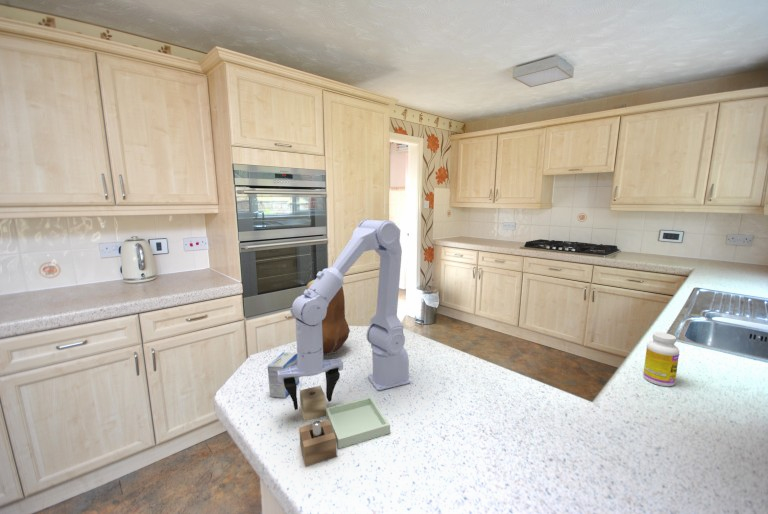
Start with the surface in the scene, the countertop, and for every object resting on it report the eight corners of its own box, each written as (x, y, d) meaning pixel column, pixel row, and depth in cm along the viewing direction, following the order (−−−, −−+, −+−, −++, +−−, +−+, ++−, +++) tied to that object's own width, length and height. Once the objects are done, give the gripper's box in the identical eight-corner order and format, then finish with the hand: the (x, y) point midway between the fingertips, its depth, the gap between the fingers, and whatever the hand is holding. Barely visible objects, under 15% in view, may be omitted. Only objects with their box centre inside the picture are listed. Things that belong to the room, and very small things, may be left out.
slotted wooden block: (329, 436, 69) (328, 419, 69) (336, 456, 64) (335, 438, 63) (300, 445, 67) (299, 427, 66) (305, 466, 62) (304, 447, 61)
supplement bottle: (672, 390, 84) (678, 342, 82) (640, 380, 89) (645, 335, 87) (676, 381, 89) (683, 335, 87) (646, 371, 94) (651, 328, 92)
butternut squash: (314, 343, 116) (310, 273, 112) (352, 343, 116) (350, 273, 112) (303, 362, 102) (299, 283, 98) (346, 362, 102) (344, 283, 98)
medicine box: (285, 399, 83) (283, 366, 82) (269, 397, 84) (266, 365, 83) (299, 382, 91) (297, 352, 89) (284, 380, 92) (282, 351, 90)
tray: (371, 404, 80) (371, 396, 80) (390, 433, 70) (390, 424, 70) (325, 416, 76) (325, 408, 76) (338, 448, 66) (338, 439, 66)
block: (321, 404, 81) (320, 385, 80) (326, 416, 76) (325, 396, 75) (300, 409, 79) (299, 390, 78) (304, 422, 74) (303, 401, 73)
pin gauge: (321, 446, 66) (319, 419, 66) (322, 452, 65) (321, 424, 64) (313, 449, 66) (311, 421, 65) (314, 454, 64) (313, 426, 63)
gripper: (336, 336, 81) (338, 387, 83) (274, 346, 76) (278, 401, 78) (344, 347, 75) (346, 403, 77) (277, 359, 69) (281, 418, 71)
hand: (312, 403), depth 77 cm, fingers open, 7 cm apart
